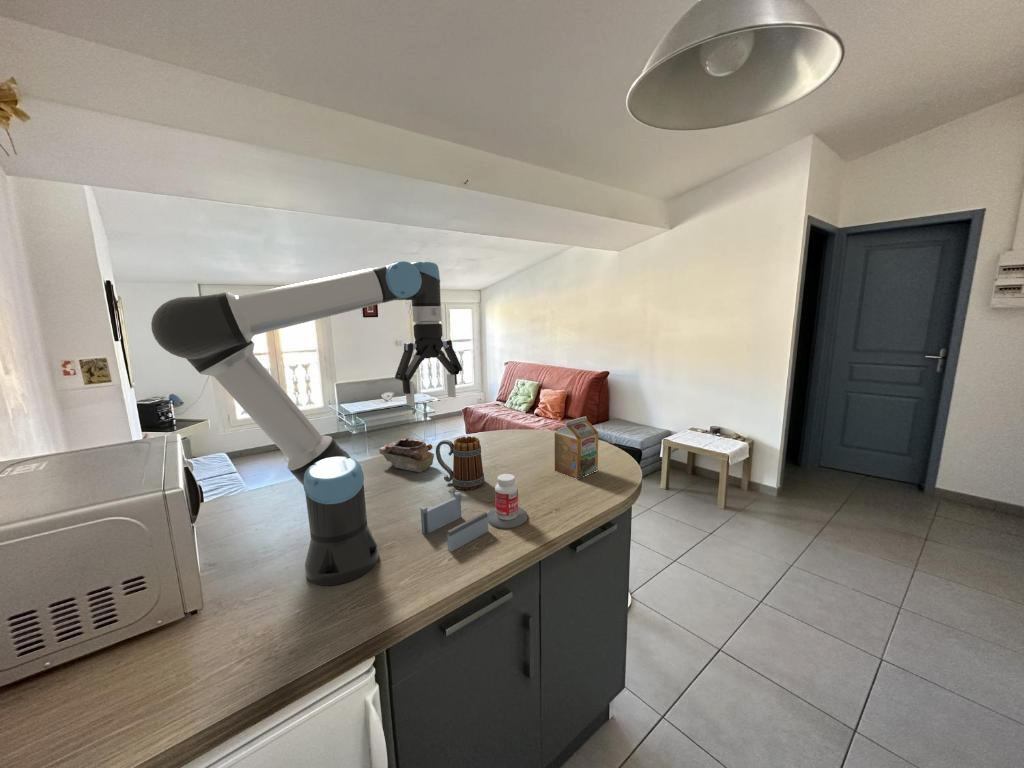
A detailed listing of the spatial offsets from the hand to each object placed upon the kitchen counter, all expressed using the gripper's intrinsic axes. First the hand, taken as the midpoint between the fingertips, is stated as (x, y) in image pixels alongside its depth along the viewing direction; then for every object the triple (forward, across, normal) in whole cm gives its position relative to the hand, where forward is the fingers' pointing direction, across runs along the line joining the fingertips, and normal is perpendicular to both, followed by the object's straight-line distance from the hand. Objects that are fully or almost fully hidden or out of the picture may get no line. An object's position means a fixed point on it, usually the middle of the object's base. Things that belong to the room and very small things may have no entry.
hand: (432, 401), depth 108 cm
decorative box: (+32, +10, +34) cm, 48 cm away
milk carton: (+32, +48, -15) cm, 60 cm away
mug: (+32, +15, +8) cm, 36 cm away
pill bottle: (+31, +9, -19) cm, 38 cm away
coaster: (+32, +9, -19) cm, 38 cm away
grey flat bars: (+32, -5, -14) cm, 35 cm away
